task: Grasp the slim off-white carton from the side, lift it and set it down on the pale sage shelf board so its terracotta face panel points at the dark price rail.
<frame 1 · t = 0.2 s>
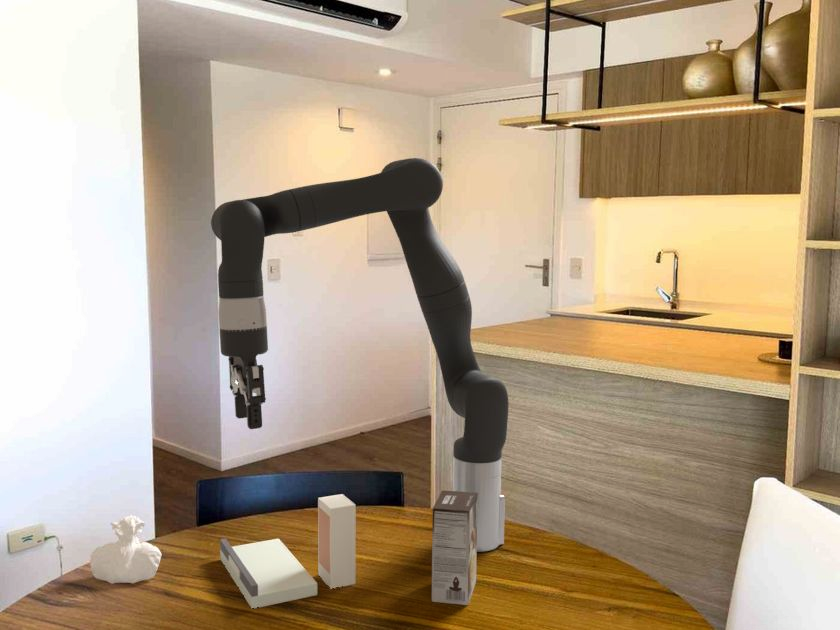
hand: (248, 422, 129), 28 cm above the table, tool pointing down, fingers open, 8 cm apart
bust: (127, 577, 137), on the table
shelf board: (266, 576, 137), on the table
coffee box: (454, 593, 132), on the table
carton: (336, 579, 136), on the table
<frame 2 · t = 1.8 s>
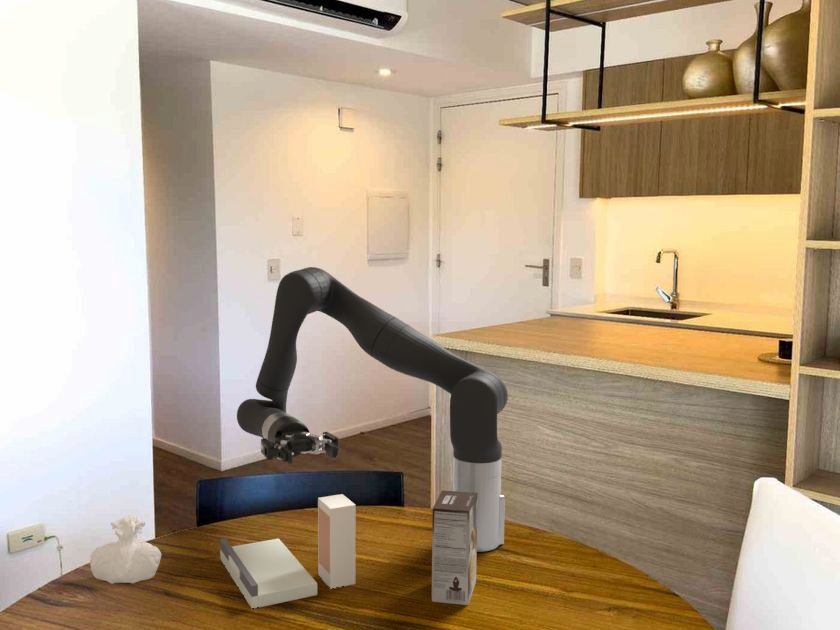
hand: (312, 455, 145), 19 cm above the table, tool horizontal, fingers open, 8 cm apart
nothing on the table moved.
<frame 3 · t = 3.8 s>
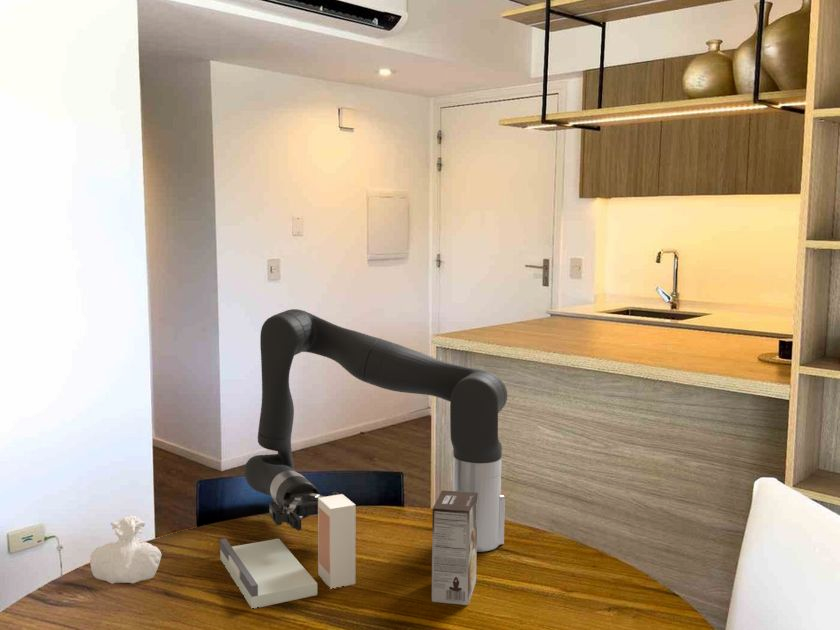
hand: (322, 521, 142), 8 cm above the table, tool horizontal, fingers open, 8 cm apart
nothing on the table moved.
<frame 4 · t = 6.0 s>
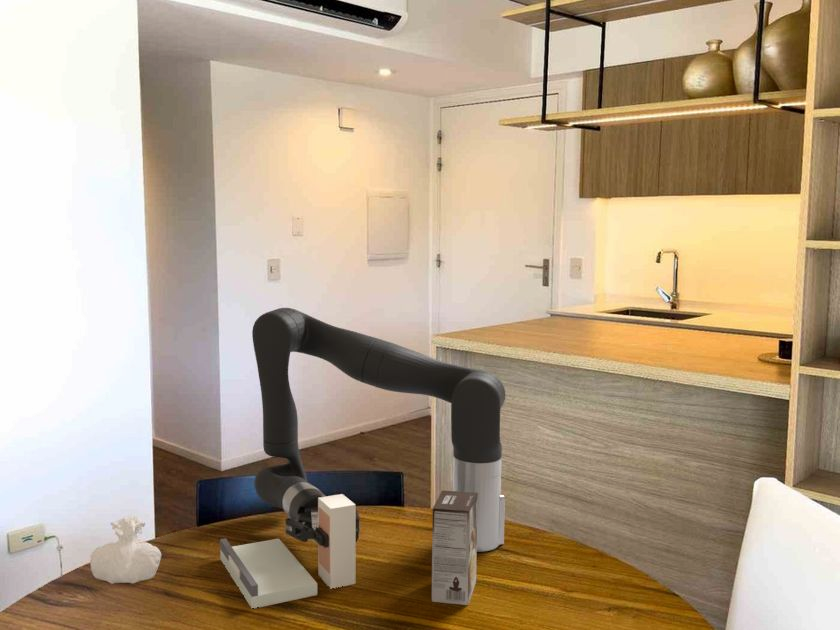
hand: (341, 539, 134), 8 cm above the table, tool horizontal, fingers closed on carton, 4 cm apart
carton: (336, 579, 136), on the table, touching gripper
everything else where it was.
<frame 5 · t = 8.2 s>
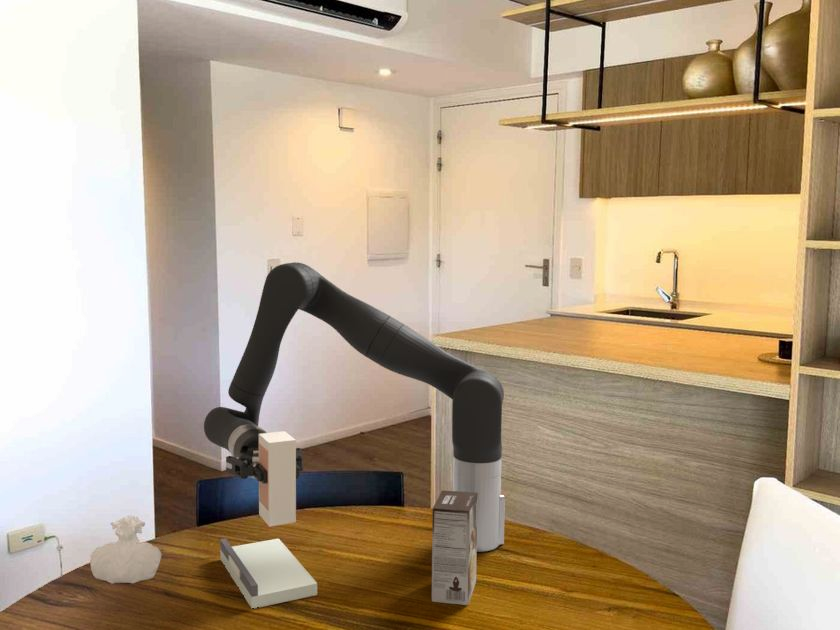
hand: (281, 475, 129), 20 cm above the table, tool horizontal, fingers closed on carton, 4 cm apart
carton: (277, 518, 132), point 12 cm above the table, touching gripper
everything else where it was.
when the fingers open (11 cm above the table, at t = 10.7 s): carton drops 1 cm, resting on shelf board.
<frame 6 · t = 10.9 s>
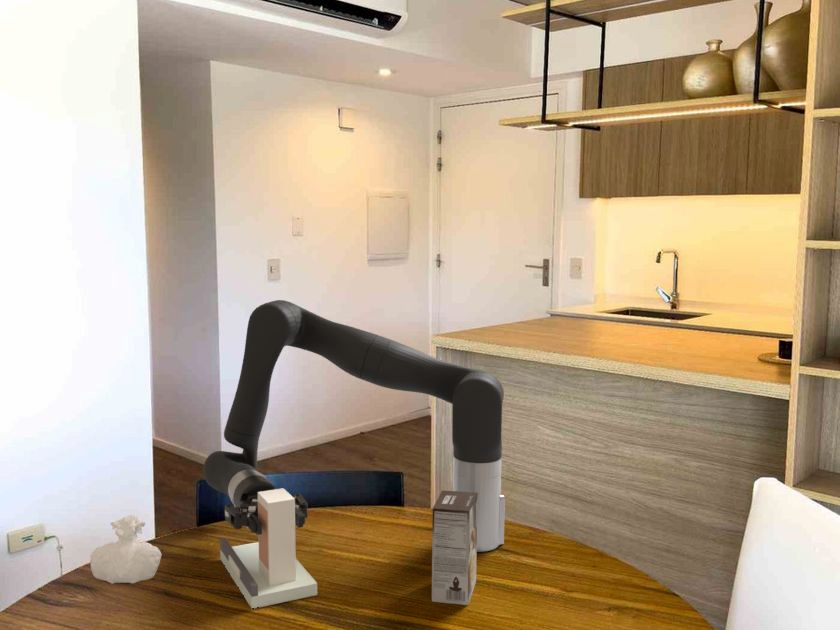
hand: (280, 525, 130), 12 cm above the table, tool horizontal, fingers open, 6 cm apart
carton: (277, 575, 133), point 2 cm above the table, touching shelf board
everything else where it was.
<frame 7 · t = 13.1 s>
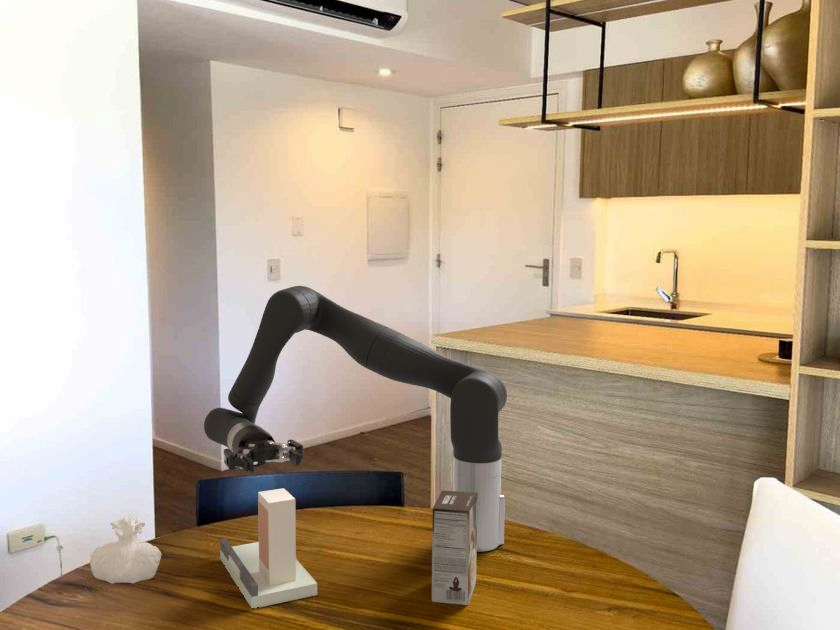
hand: (275, 463, 142), 18 cm above the table, tool horizontal, fingers open, 8 cm apart
nothing on the table moved.
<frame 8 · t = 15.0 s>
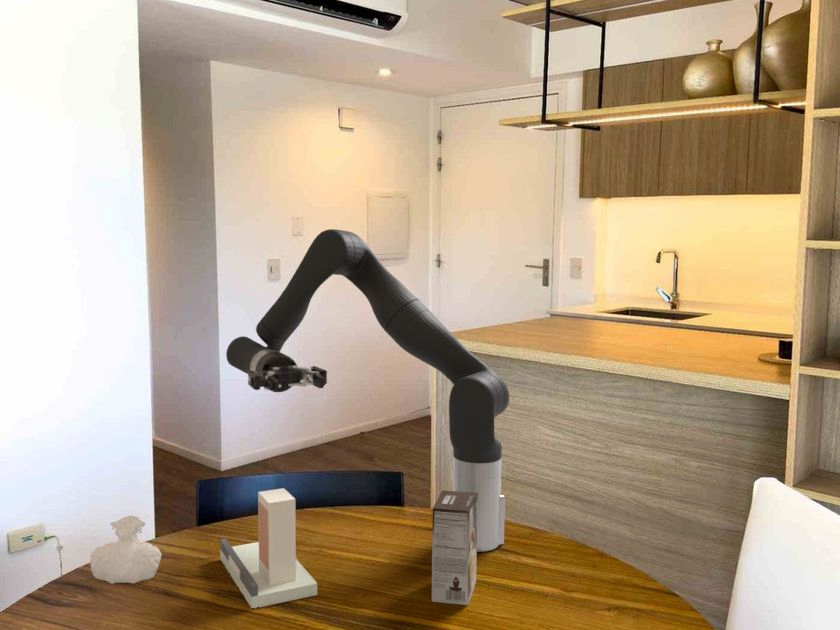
hand: (299, 384, 143), 32 cm above the table, tool horizontal, fingers open, 8 cm apart
nothing on the table moved.
at the end: carton inside the target area (1.4 cm from its centre), point 2.0 cm above the table; carton tilted 0°; the gripper is holding nothing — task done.
